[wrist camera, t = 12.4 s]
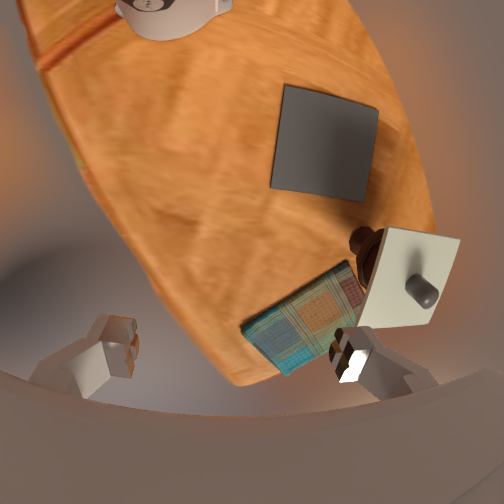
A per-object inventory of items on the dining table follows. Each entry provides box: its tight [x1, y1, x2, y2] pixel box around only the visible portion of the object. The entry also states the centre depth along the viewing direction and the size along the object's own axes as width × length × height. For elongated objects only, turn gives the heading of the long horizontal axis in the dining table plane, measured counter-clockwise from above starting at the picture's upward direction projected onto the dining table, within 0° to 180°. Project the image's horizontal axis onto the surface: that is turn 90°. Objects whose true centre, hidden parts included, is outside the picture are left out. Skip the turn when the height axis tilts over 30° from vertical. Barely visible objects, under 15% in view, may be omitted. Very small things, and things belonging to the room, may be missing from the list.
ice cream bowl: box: [349, 227, 384, 290], centre depth 40 cm, size 11×11×15 cm
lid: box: [354, 225, 460, 328], centre depth 31 cm, size 14×14×5 cm
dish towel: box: [241, 261, 365, 376], centre depth 52 cm, size 17×23×2 cm
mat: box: [270, 86, 379, 202], centre depth 39 cm, size 16×16×1 cm
